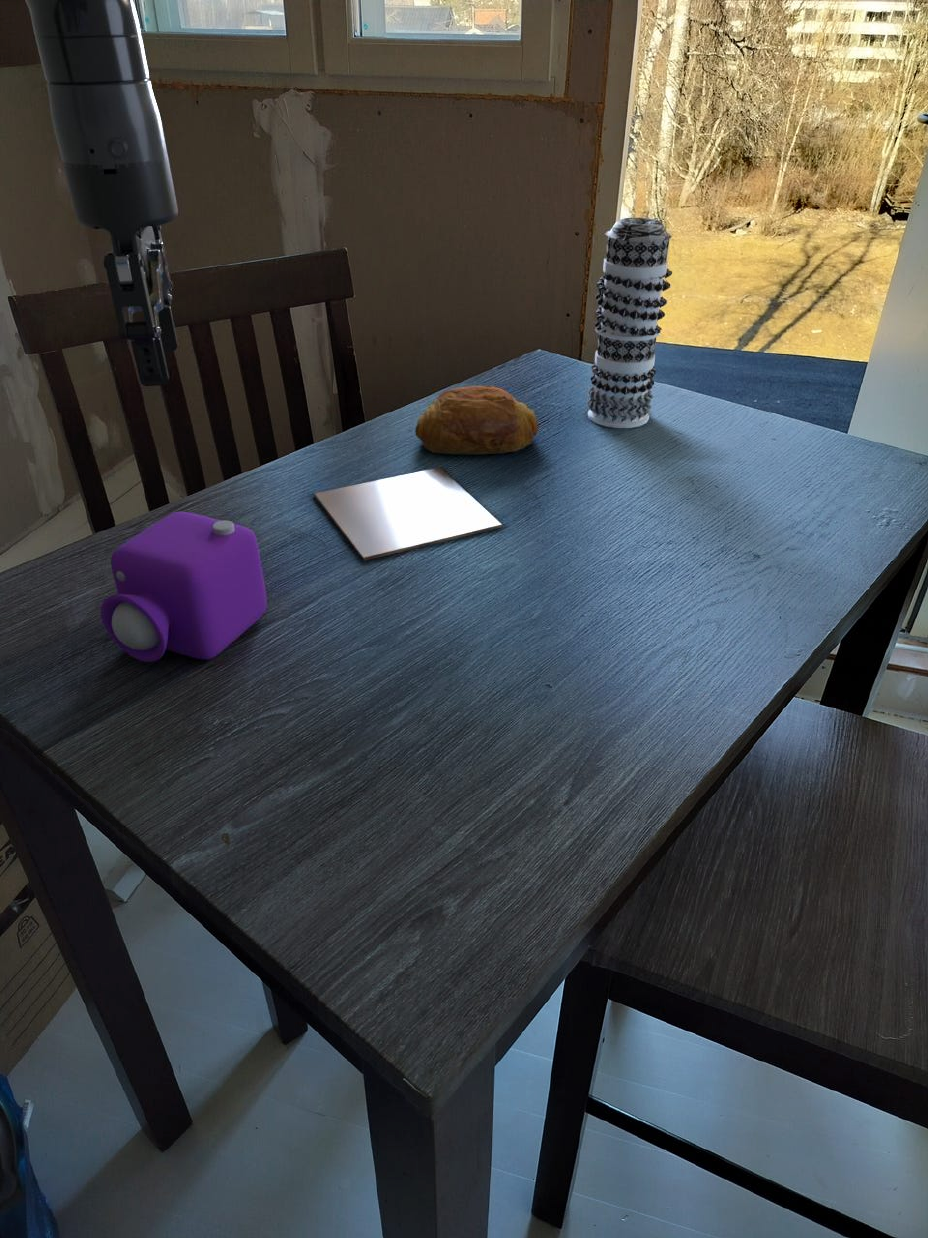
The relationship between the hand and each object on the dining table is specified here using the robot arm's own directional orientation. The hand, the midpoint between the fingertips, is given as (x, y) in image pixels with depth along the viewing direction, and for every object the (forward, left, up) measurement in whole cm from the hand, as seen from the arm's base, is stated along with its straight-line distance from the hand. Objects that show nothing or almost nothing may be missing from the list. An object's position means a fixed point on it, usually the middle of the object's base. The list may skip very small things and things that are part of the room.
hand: (161, 366), depth 73 cm
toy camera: (0, -11, -21) cm, 24 cm away
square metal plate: (+22, +9, -21) cm, 31 cm away
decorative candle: (+55, +31, -21) cm, 66 cm away
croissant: (+34, +27, -21) cm, 48 cm away
